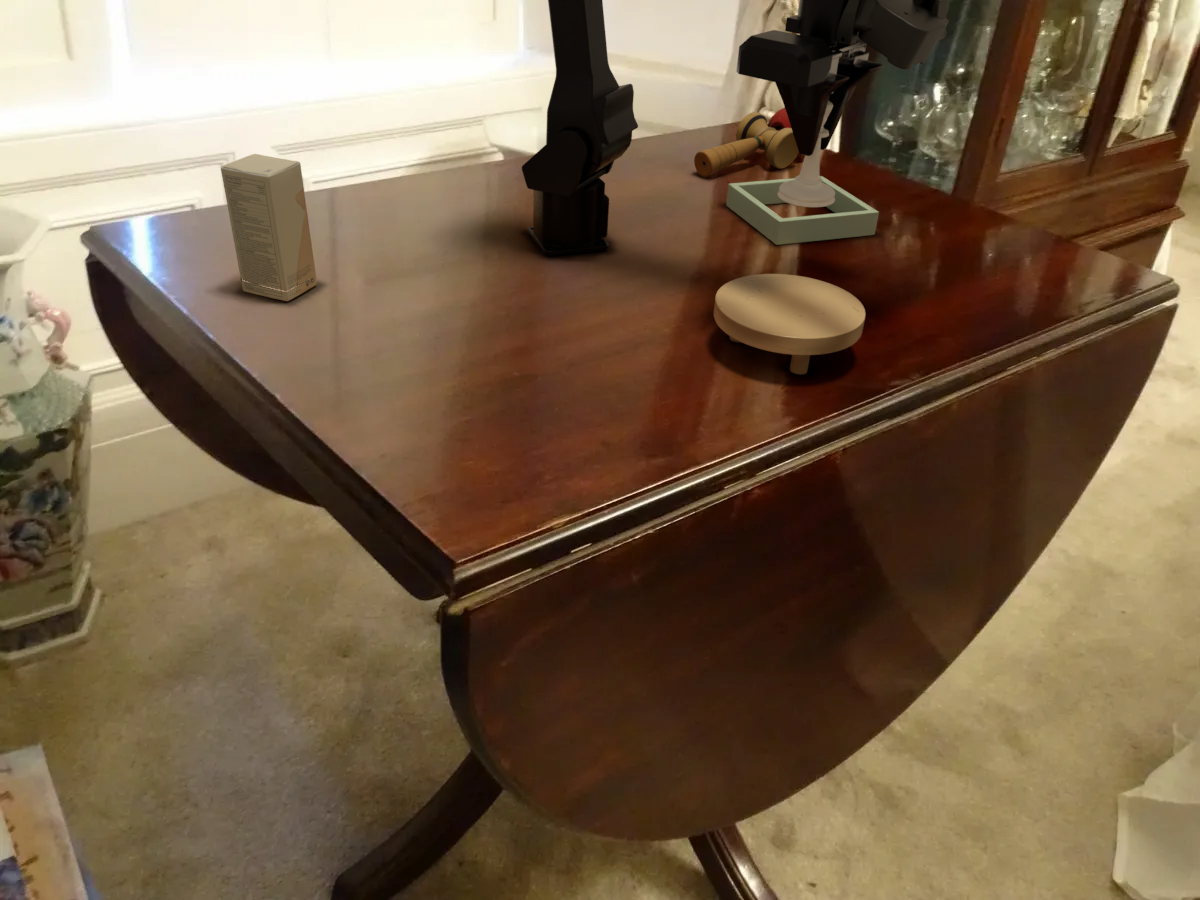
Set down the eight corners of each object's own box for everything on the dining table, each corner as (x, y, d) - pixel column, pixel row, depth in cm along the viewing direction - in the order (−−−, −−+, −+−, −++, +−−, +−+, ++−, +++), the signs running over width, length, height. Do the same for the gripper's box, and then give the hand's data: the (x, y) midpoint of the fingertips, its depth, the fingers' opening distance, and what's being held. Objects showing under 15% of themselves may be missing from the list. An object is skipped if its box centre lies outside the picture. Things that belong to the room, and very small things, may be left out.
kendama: (730, 198, 119) (834, 151, 127) (724, 143, 116) (830, 99, 124) (684, 190, 125) (786, 146, 133) (677, 138, 121) (782, 96, 130)
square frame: (776, 245, 104) (779, 221, 103) (725, 205, 113) (728, 183, 112) (874, 235, 108) (879, 211, 106) (818, 197, 117) (821, 175, 115)
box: (319, 285, 91) (304, 161, 85) (287, 303, 88) (270, 176, 82) (271, 273, 93) (254, 150, 87) (238, 290, 90) (218, 164, 84)
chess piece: (835, 210, 87) (856, 88, 82) (776, 204, 88) (793, 83, 83) (834, 191, 91) (854, 74, 86) (778, 185, 92) (795, 68, 87)
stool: (789, 399, 78) (797, 352, 76) (680, 340, 86) (684, 295, 84) (886, 356, 85) (896, 312, 83) (777, 304, 92) (783, 262, 90)
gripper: (888, -25, 69) (847, 202, 77) (992, -48, 81) (947, 150, 90) (745, -47, 74) (721, 167, 83) (863, -66, 87) (832, 122, 95)
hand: (812, 151), depth 88 cm, fingers closed on chess piece, 2 cm apart
